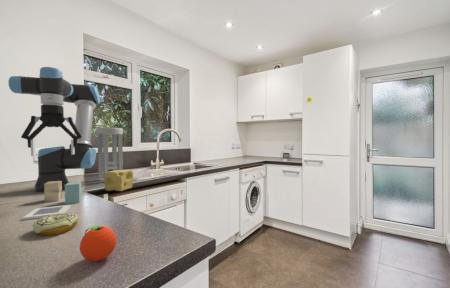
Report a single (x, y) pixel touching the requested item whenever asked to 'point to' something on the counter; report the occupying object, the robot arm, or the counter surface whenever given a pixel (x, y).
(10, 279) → the counter surface
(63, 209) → the blueprint board
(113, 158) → the stool
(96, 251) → the tomato
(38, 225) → the decorated donut
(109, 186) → the cheese
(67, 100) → the robot arm
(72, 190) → the teal block
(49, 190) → the birch block
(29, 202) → the counter surface
